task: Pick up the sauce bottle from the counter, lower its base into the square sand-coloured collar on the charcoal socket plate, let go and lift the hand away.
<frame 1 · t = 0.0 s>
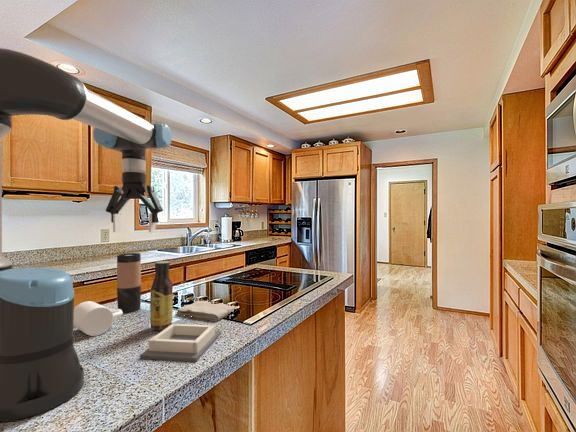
hand: (134, 232, 107), 28 cm above the table, tool pointing down, fingers open, 13 cm apart
washcloth: (206, 314, 104), on the table
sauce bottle: (161, 328, 90), on the table
travel mug: (129, 310, 108), on the table
socket plate: (184, 345, 78), on the table
mug: (99, 330, 90), on the table
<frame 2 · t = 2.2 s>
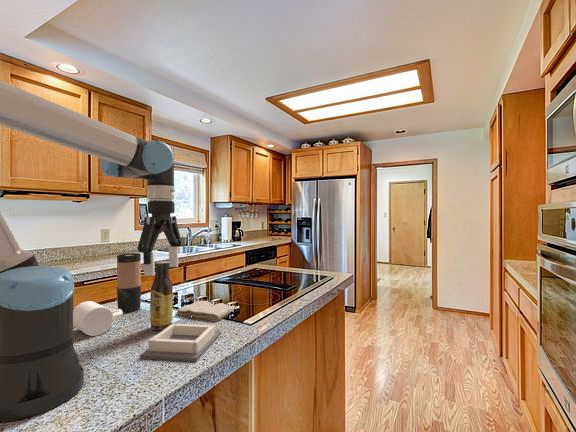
hand: (162, 271, 91), 17 cm above the table, tool pointing down, fingers open, 13 cm apart
nothing on the table moved.
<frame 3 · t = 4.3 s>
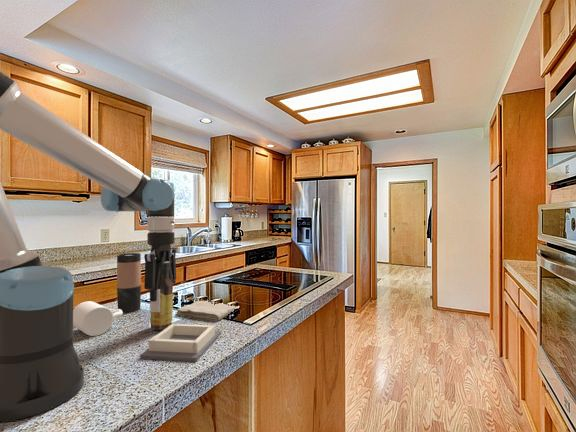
hand: (161, 308, 90), 6 cm above the table, tool pointing down, fingers closed on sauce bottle, 6 cm apart
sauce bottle: (161, 328, 90), on the table, touching gripper
everything else where it was.
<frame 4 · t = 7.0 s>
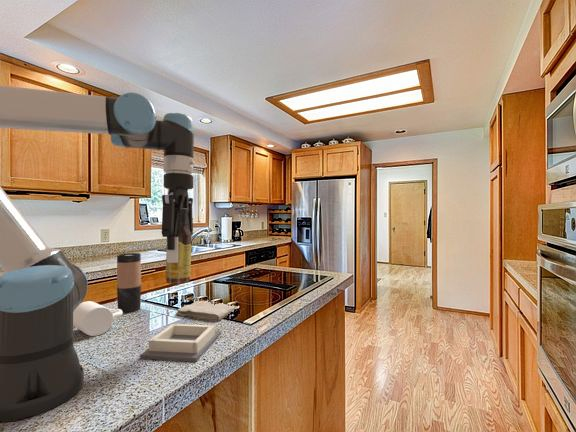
hand: (178, 260, 80), 22 cm above the table, tool pointing down, fingers closed on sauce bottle, 6 cm apart
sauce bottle: (178, 283, 80), point 16 cm above the table, touching gripper
everything else where it was.
when the fingers open (8 cm above the table, at t = 10.0 s): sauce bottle drops 1 cm, resting on socket plate.
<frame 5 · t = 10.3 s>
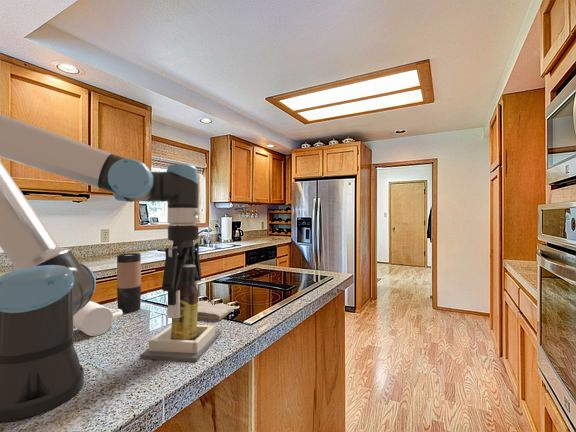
hand: (183, 310, 78), 9 cm above the table, tool pointing down, fingers open, 9 cm apart
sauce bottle: (183, 342, 78), point 1 cm above the table, touching socket plate
everything else where it was.
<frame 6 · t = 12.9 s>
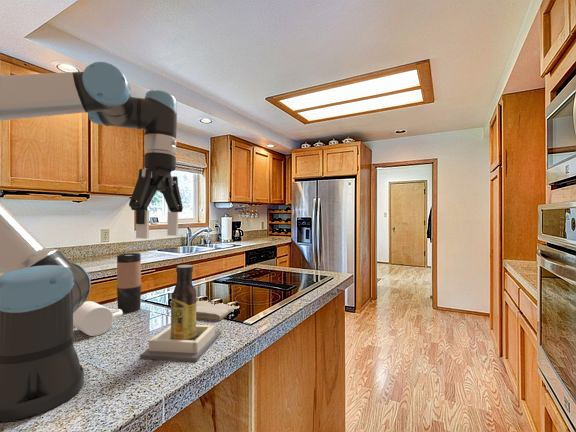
hand: (158, 236, 77), 28 cm above the table, tool pointing down, fingers open, 13 cm apart
nothing on the table moved.
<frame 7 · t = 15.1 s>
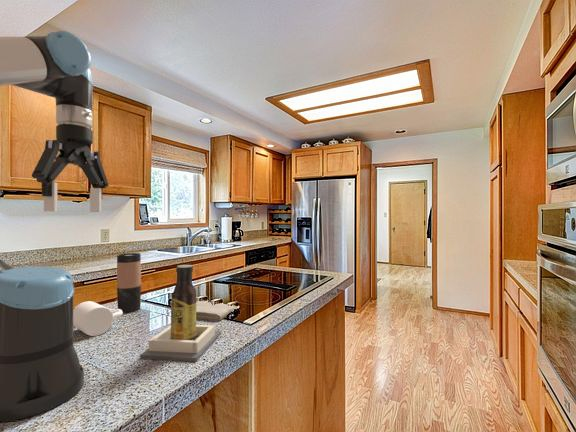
hand: (75, 212, 75), 35 cm above the table, tool pointing down, fingers open, 13 cm apart
nothing on the table moved.
at the end: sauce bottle 0.0 cm off-centre on the socket plate, point 0.6 cm above the socket plate's base; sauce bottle tilted 0°; the gripper is holding nothing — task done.
